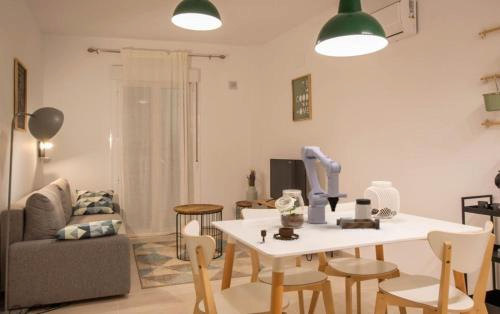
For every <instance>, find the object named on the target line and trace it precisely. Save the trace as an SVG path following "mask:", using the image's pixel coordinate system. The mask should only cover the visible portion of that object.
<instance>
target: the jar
mask: <svg viewBox="0 0 500 314" xmlns="http://www.w3.org/2000/svg"><path fill="white" fill-rule="evenodd" d="M371 202H372V200H371V199H369V198H356V199H355V204H354V206H355V207H354V209H355V211H354V213H355V214H354V215H355V217H354V219H371V220H372V203H371Z"/></svg>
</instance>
